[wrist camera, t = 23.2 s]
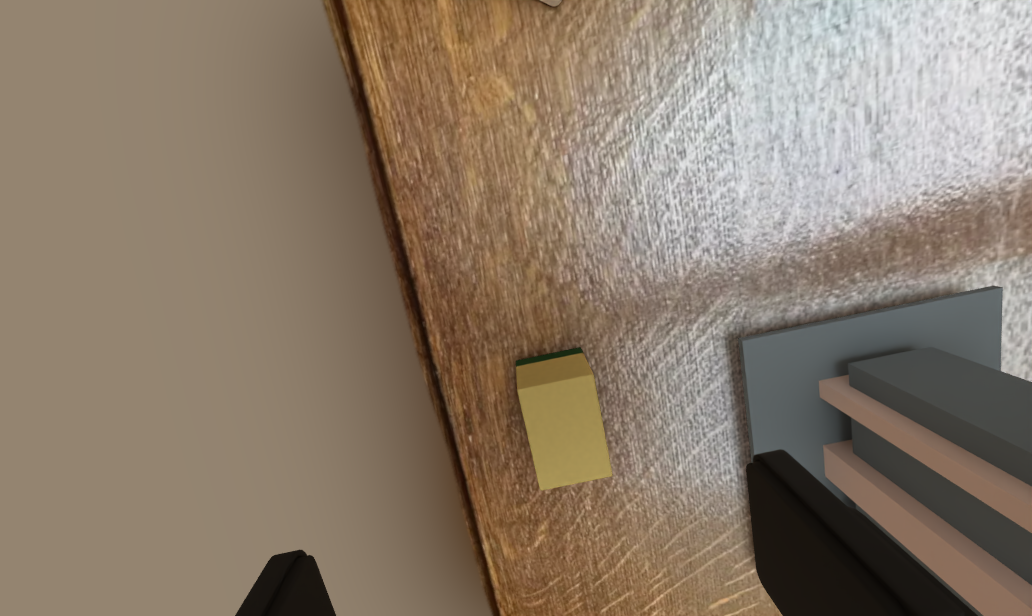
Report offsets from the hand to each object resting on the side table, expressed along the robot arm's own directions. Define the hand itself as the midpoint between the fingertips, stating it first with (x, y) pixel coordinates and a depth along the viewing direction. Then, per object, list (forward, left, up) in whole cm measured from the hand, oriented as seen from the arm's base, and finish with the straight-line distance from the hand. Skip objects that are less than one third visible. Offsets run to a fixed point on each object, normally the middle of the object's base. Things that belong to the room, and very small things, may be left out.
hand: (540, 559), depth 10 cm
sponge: (+4, -3, -19) cm, 19 cm away
